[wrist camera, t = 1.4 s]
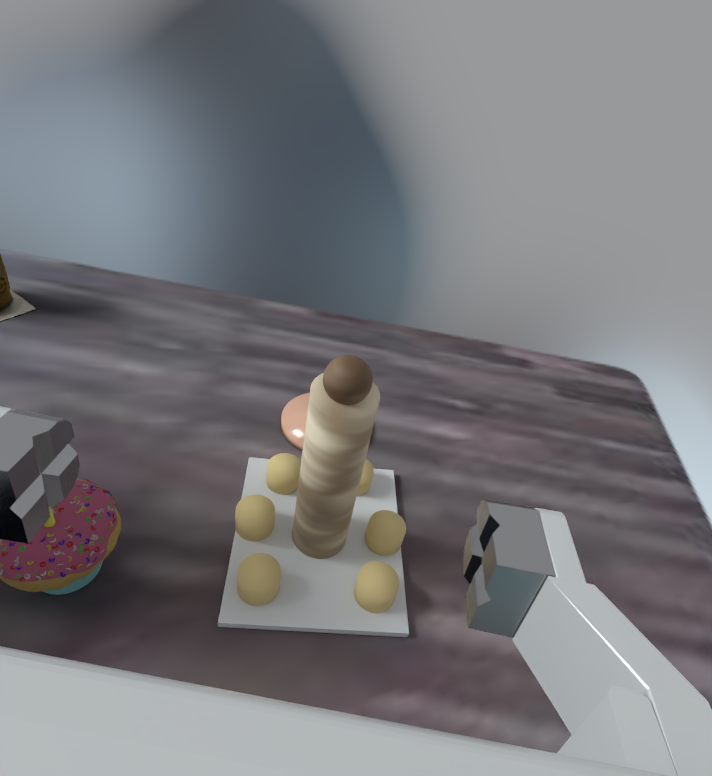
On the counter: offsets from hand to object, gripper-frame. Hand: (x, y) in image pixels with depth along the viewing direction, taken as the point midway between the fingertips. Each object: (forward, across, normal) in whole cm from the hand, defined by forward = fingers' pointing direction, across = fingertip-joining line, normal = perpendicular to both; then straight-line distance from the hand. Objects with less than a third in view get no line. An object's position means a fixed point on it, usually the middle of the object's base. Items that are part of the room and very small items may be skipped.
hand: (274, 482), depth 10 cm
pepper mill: (+23, 0, -28) cm, 36 cm away
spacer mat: (+23, 0, -28) cm, 36 cm away
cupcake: (+16, -18, -29) cm, 38 cm away
